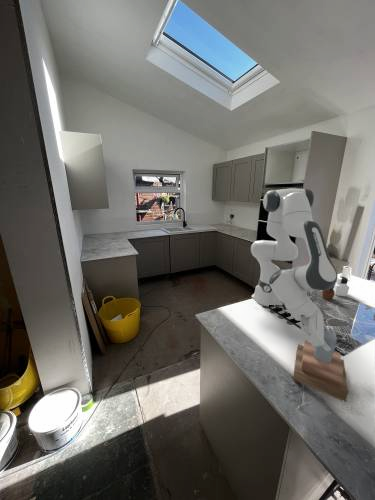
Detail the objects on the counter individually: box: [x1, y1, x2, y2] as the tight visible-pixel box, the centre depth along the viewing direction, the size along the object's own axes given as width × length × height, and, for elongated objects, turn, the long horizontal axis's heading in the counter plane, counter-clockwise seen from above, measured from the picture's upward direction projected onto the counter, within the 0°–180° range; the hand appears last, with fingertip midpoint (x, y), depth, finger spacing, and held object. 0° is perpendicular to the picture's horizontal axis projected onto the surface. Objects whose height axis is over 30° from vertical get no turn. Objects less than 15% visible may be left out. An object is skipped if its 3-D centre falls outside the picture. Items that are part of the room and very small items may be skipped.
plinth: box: [292, 340, 349, 402], centre depth 78 cm, size 16×16×8 cm
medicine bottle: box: [333, 275, 350, 297], centre depth 138 cm, size 7×7×12 cm
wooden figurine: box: [321, 287, 335, 301], centre depth 132 cm, size 7×6×15 cm
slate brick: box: [314, 330, 337, 364], centre depth 75 cm, size 5×5×10 cm
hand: (328, 341), depth 74 cm, fingers open, 8 cm apart
